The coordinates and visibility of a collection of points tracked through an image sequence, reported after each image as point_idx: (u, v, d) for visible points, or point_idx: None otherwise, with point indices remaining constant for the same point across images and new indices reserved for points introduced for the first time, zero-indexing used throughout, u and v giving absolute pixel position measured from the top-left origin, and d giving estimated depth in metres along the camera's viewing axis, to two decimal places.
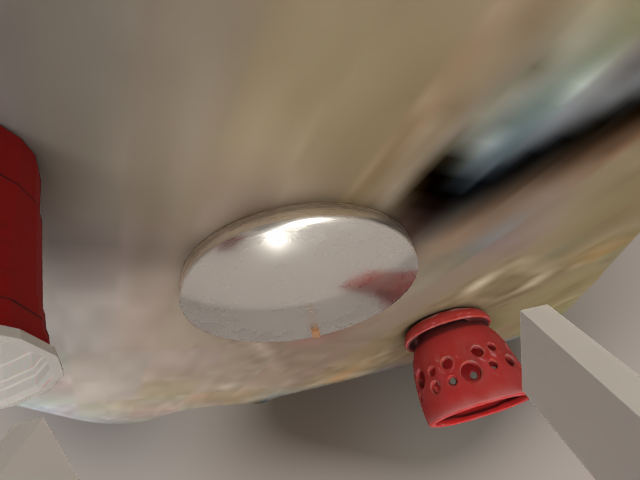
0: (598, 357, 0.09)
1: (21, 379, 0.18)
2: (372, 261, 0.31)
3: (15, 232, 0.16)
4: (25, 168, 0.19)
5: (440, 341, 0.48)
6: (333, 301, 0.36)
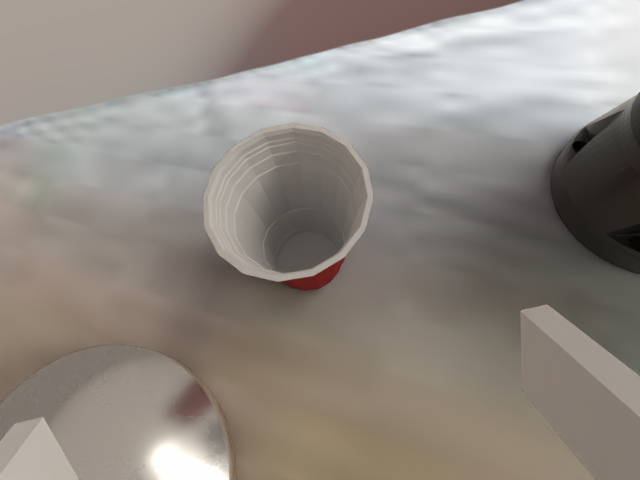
0: (598, 357, 0.09)
1: (224, 240, 0.25)
2: None
3: (313, 278, 0.28)
4: (312, 286, 0.32)
5: None
6: None
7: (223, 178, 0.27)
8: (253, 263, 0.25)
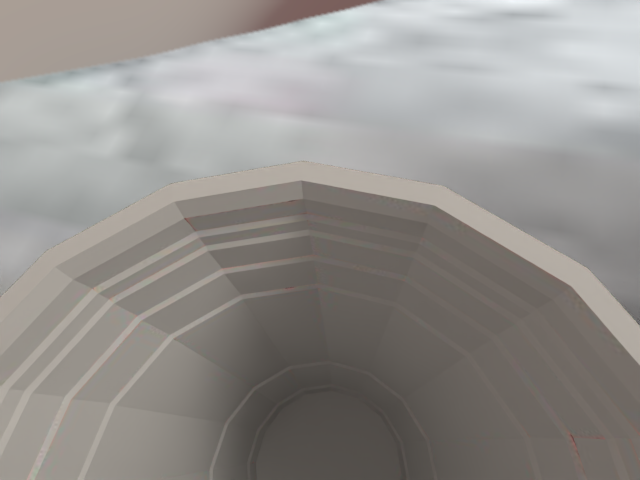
0: None
1: None
2: None
3: None
4: None
5: None
6: None
7: None
8: None
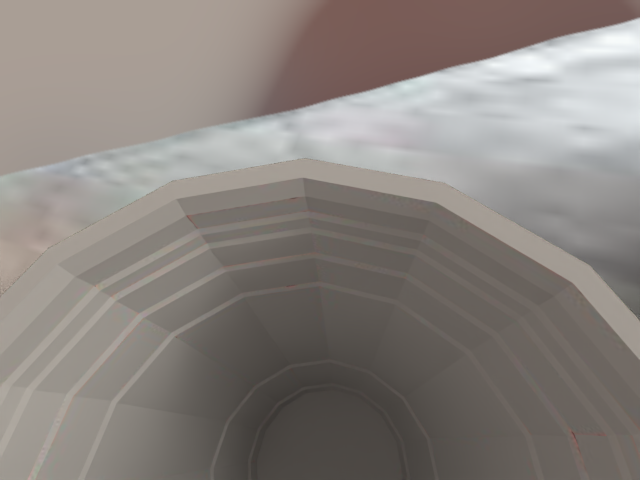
0: None
1: None
2: None
3: None
4: None
5: None
6: None
7: None
8: None
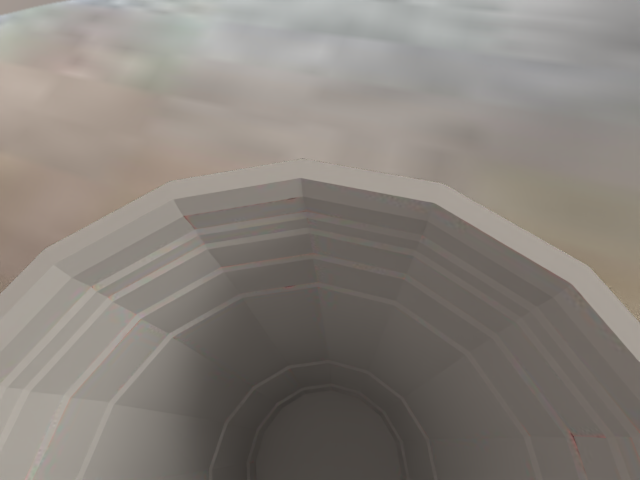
0: None
1: None
2: None
3: None
4: None
5: None
6: None
7: None
8: None
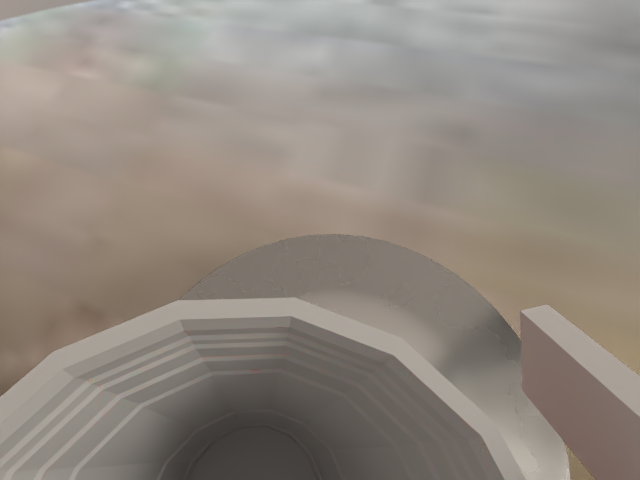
0: (598, 357, 0.09)
1: None
2: None
3: None
4: None
5: None
6: None
7: None
8: None
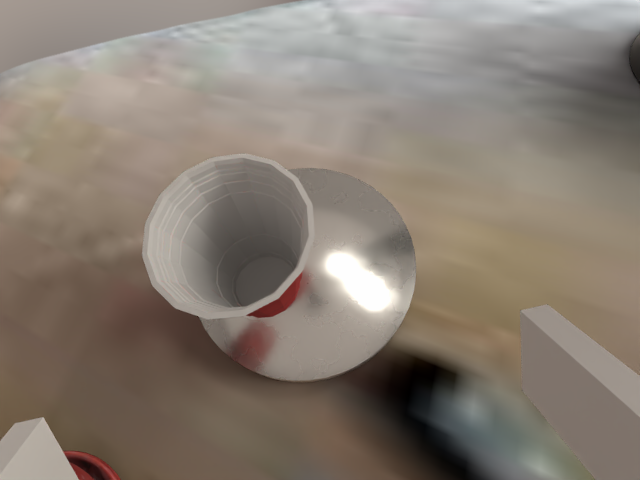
0: (598, 357, 0.09)
1: (162, 270, 0.25)
2: (353, 319, 0.33)
3: (258, 311, 0.27)
4: (264, 315, 0.32)
5: None
6: None
7: (169, 205, 0.26)
8: (191, 295, 0.25)
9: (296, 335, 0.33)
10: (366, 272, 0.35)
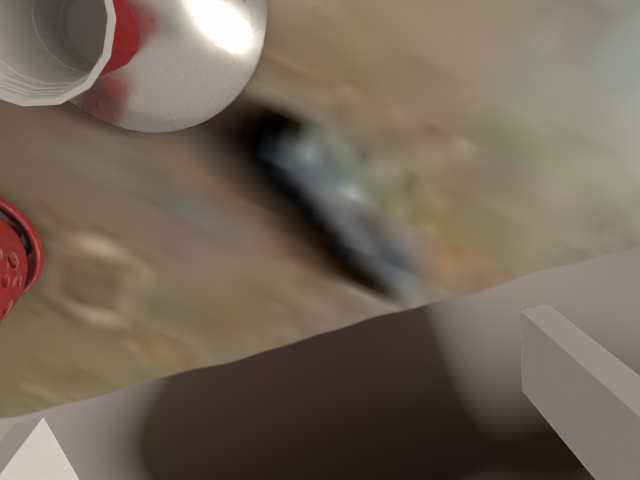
0: (598, 357, 0.09)
1: None
2: (201, 74, 0.34)
3: None
4: None
5: None
6: None
7: None
8: (0, 71, 0.24)
9: (145, 89, 0.34)
10: (213, 20, 0.32)
